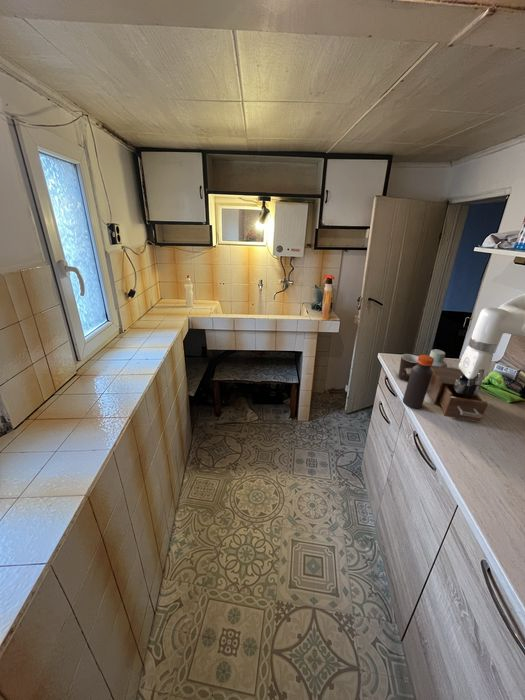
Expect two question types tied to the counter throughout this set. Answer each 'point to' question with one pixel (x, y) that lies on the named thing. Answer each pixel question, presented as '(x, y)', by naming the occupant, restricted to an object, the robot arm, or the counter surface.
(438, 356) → the air freshener
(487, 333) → the robot arm
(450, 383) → the cabinet
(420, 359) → the bottle
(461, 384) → the striped block
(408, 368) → the coffee mug
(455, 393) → the drawer
